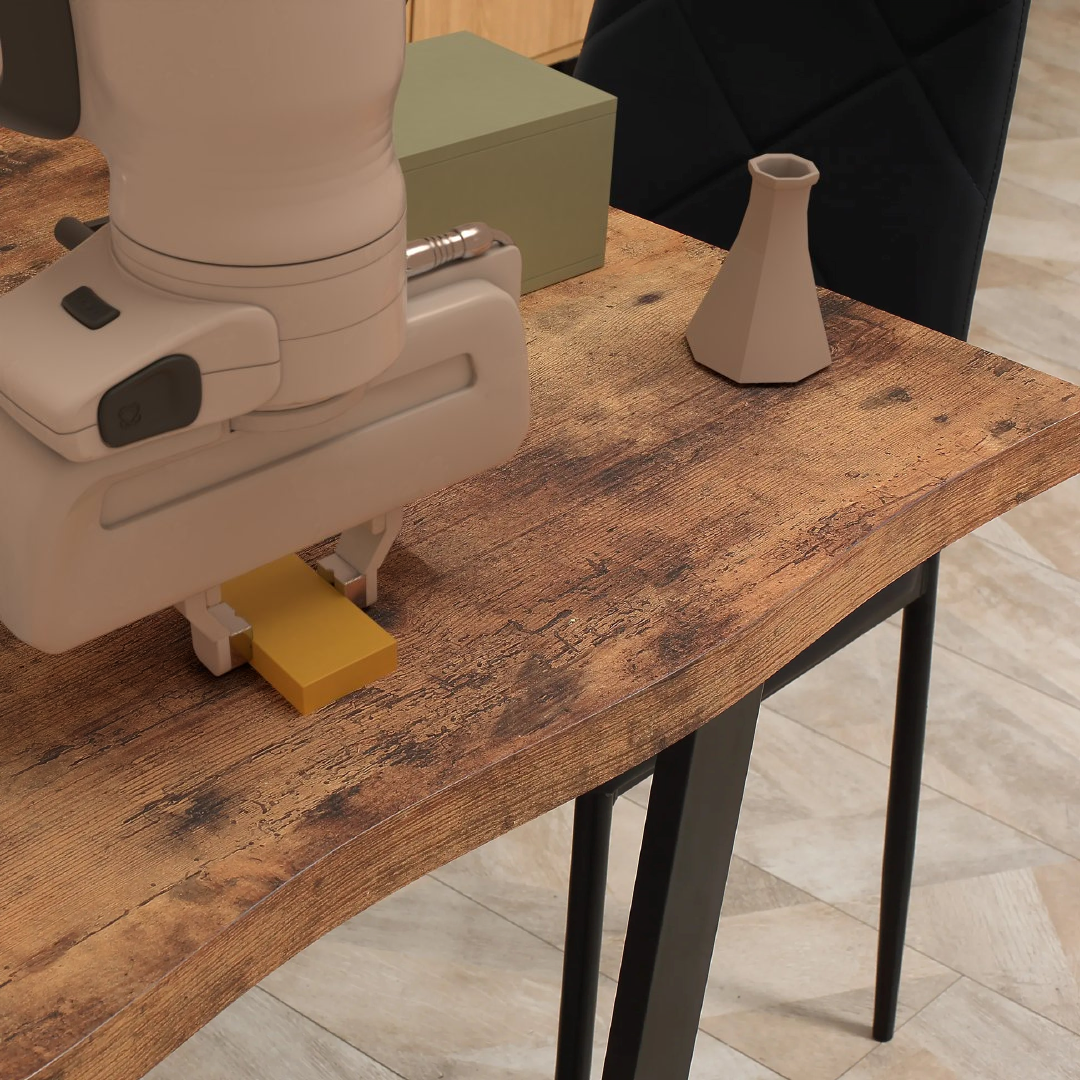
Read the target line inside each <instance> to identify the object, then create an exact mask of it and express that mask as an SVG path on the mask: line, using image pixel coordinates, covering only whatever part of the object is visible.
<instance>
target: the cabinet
mask: <svg viewBox="0 0 1080 1080" xmlns="http://www.w3.org/2000/svg"><path fill="white" fill-rule="evenodd" d="M617 109H618V97H617V96H615V95H613V94H611V93H609V92H606V91H604V90H602V89H599V88H597V87H595V86H593V85H591V84H588V83H587V82H584V81H581V80H579V79H577V78H574V77H572V76H570V75H568V74H565V73H563V72H561V71H558V70H556V69H554V68H553V67H550V66H548V65H546V64H543V63H541V62H539V61H537V60H534V59H532V58H530V57H527V56H525V55H523V54H520V53H518V52H516V51H513V50H512V49H509V48H507V47H505V46H502V45H500V44H498V43H496V42H494V41H491V40H489V39H487V38H485V37H482V36H480V35H478V34H475V33H474V32H471V31H468V30H466V29H464V30H460V31H455V32H451V33H447V34H443V35H437V36H433V37H430V38H424V39H420V40H416V41H412V42H408V43H407V42H406V63H405V69H404V74H403V79H402V82H401V85H400V89H399V92H398V95H397V99H396V103H395V108H394V116H393V137H394V144H395V150H396V154H397V157H398V160H399V163H400V166H401V170H402V173H403V177H404V181H405V185H406V195H407V202H406V203H407V224H406V227H407V242H408V241H412V240H416V239H420V238H427V237H433V236H437V235H441V234H444V233H447V232H448V231H449V230H450V229H452V228H454V227H457V226H459V225H462V224H466V223H472V222H484V223H486V224H487V225H488V226H489V227H490V229H496V230H499V231H502V232H504V233H506V234H507V235H508V236H509V237H510V238H511V239H512V240H513V242H514V243H515V245H516V247H517V248H518V249H519V251H520V254H521V260H522V272H521V294H520V297H521V296H524V295H526V294H530V293H532V292H534V291H537V290H540V289H543V288H546V287H549V286H552V285H554V284H557V283H560V282H562V281H566V280H568V279H571V278H575V277H576V276H577V277H578V276H580V275H583V274H585V273H588V272H591V271H593V270H596V269H599V268H603V267H604V266H605V260H606V248H607V247H606V246H607V235H608V225H609V224H608V221H609V209H610V198H611V197H610V196H611V187H612V186H611V185H612V184H611V183H612V169H613V158H614V147H615V146H614V144H615V133H616V121H617ZM493 242H496V241H493Z"/></svg>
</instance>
